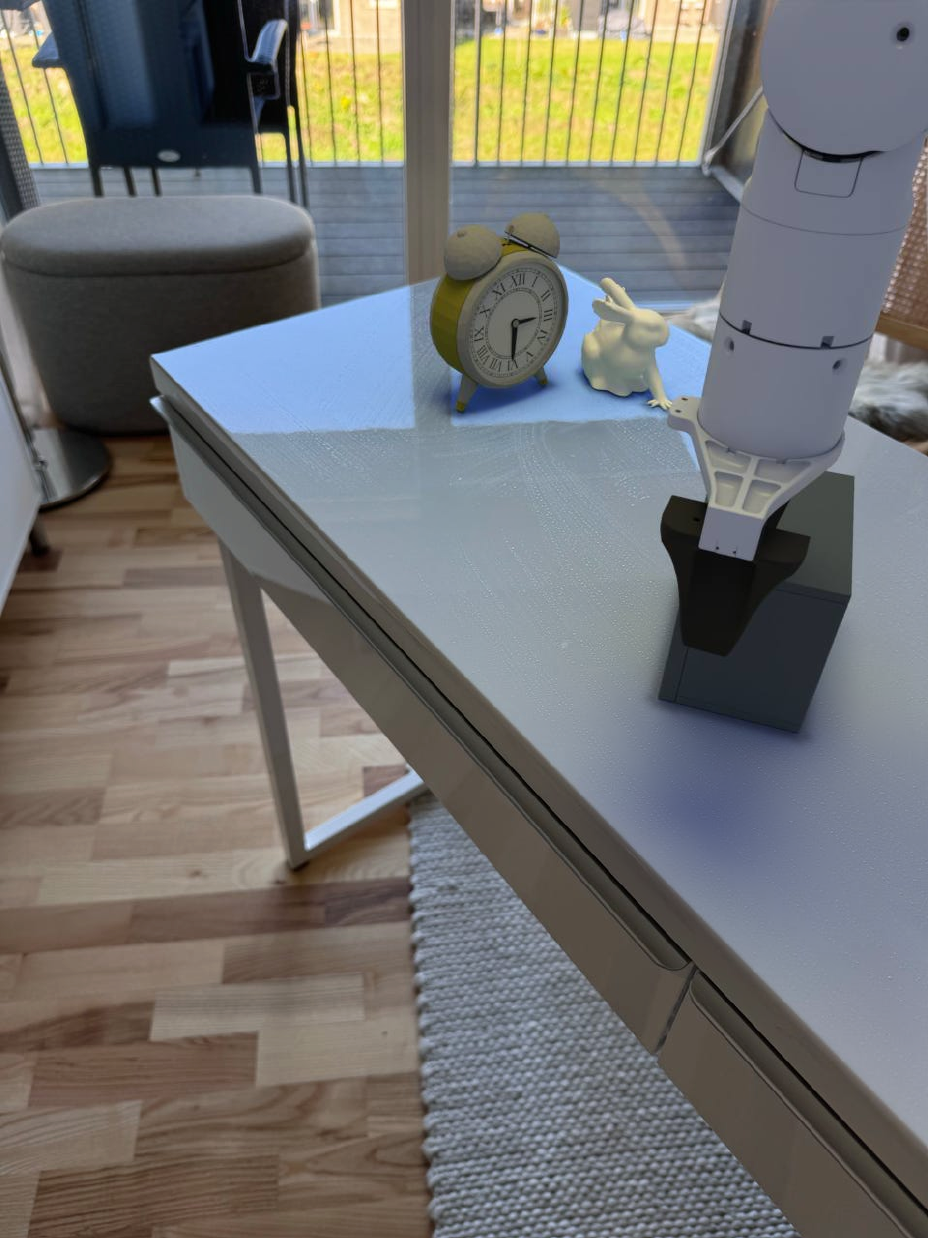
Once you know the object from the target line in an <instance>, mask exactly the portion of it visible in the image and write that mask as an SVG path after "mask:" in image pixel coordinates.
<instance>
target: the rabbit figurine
mask: <svg viewBox="0 0 928 1238" xmlns="http://www.w3.org/2000/svg"><path fill="white" fill-rule="evenodd" d="M599 288H600V289H601V291H603V293H605V294H606V295H605V297H603V298H593V301H592V302H591V307H592V310H593V313H594V314H595V315H596V316H597V317H599V320H598V321H597V324H596V325H595V327H594V329H592V330H591V331H590V332H589V333H585V334H584V335H583V338H582V343H581V347H580V362H581V365H582V368H583V371H584V375H585V376H586V378H587V379H588V381H589V384H590V386H591V388H593V389H595V390H601V391H602V390H603V391H609V392H610V393H612V394H614V395H616V396H620V397H627V396H629V395H631V394H632V392H636V393H637V392H638V393H642V392H646V391H648V390H649V391H650V393H651V396H652V397H653V399H652V400H648V402H646V405H651V406H650V407H653V408H654V407H656V406H660V407H661V408H662V410H664V411H669V409H670V407H671V405H672V403H673V402H672V401H670V400H669V399H668V397H667V396H666V392H665V389H664V384H663V380H662V376H661V373H660V371H659V366H658V364H657V359H656V349H657V348H661V347H664V346H666V344H668V341H669V338H670V335H671V330H670V326H669V323H667V321H666V319H665V318H664V317H663V316H662V315H661V314H660V313H659V312H657V311H656V310H653V309H649V308H640V307H638V306H637V305H635V303H634V302H633V301H632V299H631V298H630V297H629V296H628V294H627V292H626V288H625V287H624V286H622V287H621V285H619V284H616V282H615V281H614V280H613V279H612V278H610V277H605V278H602V279H601V281H600V282H599Z"/></svg>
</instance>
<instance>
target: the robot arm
mask: <svg viewBox="0 0 928 1238" xmlns="http://www.w3.org/2000/svg"><path fill="white" fill-rule="evenodd" d="M761 43H762V44H761V50H760V60H759V62H760V63H759V70H760V72H759V73H760V82H761V87H762V91H763V95H764V99H765V102H766V103H767V106H768V107H767V108H766V109H765V111H764V115H763V118H762V119H763V120H762V122H761V123H760V126H759V128H758V131H757V133H756V134H757V135H756V138H755V144H754V163H753V168H752V174H751V175H750V177H748V178H747V180H746V181H745V184H744V186H743V189H742V195H741V200H740V205H739V208H738V214H737V219H736V223H735V229H734V233H733V238H732V244H731V247H730V248H731V249H730V253H729V257H728V263H727V268H726V272H725V273H726V274H725V278H724V282H723V287H722V292H721V298H720V303H719V308H718V314H717V318H716V323H715V327H714V333H713V337H712V341H711V347H710V353H709V356H708V361H707V366H706V372H705V375H704V381H703V386H702V391H701V396H700V397H698V396H692V395H685V394H684V395H678V396H677V397H675V398H674V400H673V402H672V405H671V407H670V409H668V413H667V418H666V425H667V427H669V428H670V429H672V430H675V431H678V432H679V431H680V432H683V433H686V434H687V435H688V436H689V437H690V438H691V442H692V444H693V449H694V452H695V456H696V461H697V463H698V467H699V470H700V474H701V478H702V481H703V485H704V490H705V492H706V494H707V498H708V503H705V501H700V500H696V499H692V498H688V497H683V496H679V495H676V494H675V495H674V494H671V496H670V497H669V499H668V501H667V504H666V506H665V508H664V510H663V512H662V515H661V519H660V524H659V530H660V540H661V543H662V545H663V546H664V549H665V550H666V552H667V554H668V557H669V559H670V561H671V563H672V566H673V570H674V574H675V578H676V582H677V590H678V591H677V592H678V593H677V594H678V608H679V618H680V632H681V639H682V644H683V645H684V646H687V647H691V648H694V649H698V650H701V651H705V652H708V653H712V654H716V655H719V656H723V657H726V656H728V655H729V654H730V652H731V651H732V650H733V649H734V647H735V646H736V644H737V643H738V641H739V640H740V638H741V636H742V635H743V633H744V631H745V629H746V627H747V626H748V624H749V622H750V620H751V618H752V617H753V615H754V613H755V612H756V610H757V609H758V607H759V606H760V604H761V603H762V602H763V600H764V599H765V598H766V597H767V596H768V595H769V594H770V592H771V591H772V590H773V589H775V588H776V587H777V586H778V585H779V584H781V583H782V582H783V581H785V580H786V579H788V578H789V577H791V576H792V575H793V574H794V573H795V572H796V571H797V570H798V569H799V567H800V566H801V565H802V563H803V562H804V560H805V558H806V555H807V551H808V547H809V543H810V539H811V537H810V536H807V535H802V534H798V533H794V532H790V531H785V530H781V529H777V528H776V527H777V525H778V523H779V521H780V519H781V517H782V515H783V513H784V511H785V509H786V507H787V505H788V503H789V502H790V500H791V498H792V497H793V496H795V495H796V494H797V493H798V492H800V491H801V490H802V489H803V488H805V487H806V486H807V485H808V484H810V483H811V482H812V481H813V480H815V479H816V478H817V477H818V476H820V475H821V474H822V473H824V472H825V471H828V469H830V468H831V467H832V466H833V465H834V464H836V462H837V461H838V460H839V458H840V457H841V453H842V451H843V448H844V445H845V442H846V432H845V429H844V427H845V424H846V421H847V418H848V414H849V411H850V408H851V406H852V402H853V399H854V397H855V393H856V390H857V387H858V384H859V380H860V377H861V374H862V371H863V368H864V365H865V361H866V359H867V357H868V353H869V350H870V348H871V344H872V341H873V338H874V335H875V330H876V328H877V324H878V320H879V319H880V318H879V317H880V315H881V312H882V307H883V305H884V302H885V299H886V295H887V294H888V293H887V292H888V289H889V287H890V283H891V281H892V278H893V274H894V271H895V268H896V265H897V261H898V258H899V255H900V252H901V249H902V246H903V243H904V240H905V237H906V234H907V230H908V227H909V224H910V221H911V219H912V216H913V212H914V210H915V200H916V199H915V196H914V192H913V181H914V178H915V176H916V172H917V168H918V164H919V162H920V159H921V156H922V153H923V149H924V146H925V143H926V140H927V136H928V0H777V2H776V4H775V5H774V8H773V10H772V12H771V14H770V16H769V19H768V21H767V23H766V27H765V31H764V33H763V39H762V42H761Z"/></svg>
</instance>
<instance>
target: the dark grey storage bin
mask: <svg viewBox="0 0 928 1238" xmlns="http://www.w3.org/2000/svg"><path fill="white" fill-rule="evenodd" d="M855 479H856V477H855V475H851V474H846V473H841V472H834V471H829V470H826V471H825V472H824V473H822V474H821V475H820V476H818V477H817V478H816V479H815V480H813V481H812V482H811V483H810V484H808V485H807V486H806V487H805V488H803V489H802V490H801V491H800V492H798V493H797V494H796V495H795V496H793V497H792V498H791V500H790V502H789V503H788V505H787V507H786V509H785V511H784V513H783V515H782V517H781V519H780V521H779V523H778V525H777V527H776V528H777V529H781V530H785V531H790V532H794V533H798V534H802V535H807V536H810V537H811V539H810V543H809V547H808V551H807V555H806V558H805V560H804V562H803V563H802V565H801V566H800V567H799V569H798V570H797V571H796V572H795V573H794V574H793V575H792V576H791V577H789V578H788V579H786V580H785V581H783V582H782V583H781V584H779V585H778V586H777V587H776V588H775V589H773V590H772V591H771V592H770V594H769V595H768V596H767V597H766V598H765V599H764V600H763V602H762V603H761V604H760V606H759V607H758V609H757V610H756V612H755V613H754V615H753V617H752V618H751V620H750V622H749V624H748V626H747V627H746V629H745V631H744V633H743V635H742V636H741V638H740V640H739V641H738V643H737V644H736V646H735V647H734V649H733V650H732V651H731V652H730V654H729V655H728V656H726V657H723V656H719V655H716V654H712V653H708V652H705V651H701V650H698V649H694V648H691V647H687V646H684V645H683V644H682V639H681V632H680V618H679V607H678V609H677V613H676V616H675V621H674V625H673V630H672V634H671V639H670V643H669V648H668V652H667V656H666V662H665V665H664V669H663V674H662V677H661V678H662V679H661V682H660V687H659V691H658V696H657V697H658V699H659V700H663V701H667V702H672V703H676V704H680V705H683V706H688V707H692V708H696V709H699V710H704V711H708V712H712V713H716V714H720V715H724V716H728V717H732V718H736V719H741V720H743V721H749V722H753V723H757V724H761V725H764V726H769V727H773V728H776V729H780V730H784V731H789V732H793V733H797V734H799V733H800V731H801V730H802V729H801V728H802V727H803V724H804V720H805V718H806V716H807V713H808V710H809V708H810V705H811V703H812V700H813V698H814V695H815V692H816V690H817V688H818V684H819V682H820V679H821V676H822V675H823V671H824V668H825V666H826V665H827V664H826V663H827V661H828V658H829V656H830V654H831V650H832V648H833V646H834V642H835V640H836V637H837V635H838V633H839V629H840V627H841V624H842V623H843V622H842V621H843V619H844V617H845V614H846V611H847V609H848V606H849V604H850V601H851V598H852V595H853V594H852V593H853V591H852V590H853V559H854V558H853V556H854V555H853V554H854V552H853V551H854V519H855V517H854V516H855V512H854V510H855ZM704 502H705V503H708V498H707V493H706V494H705V499H704Z"/></svg>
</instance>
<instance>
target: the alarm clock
mask: <svg viewBox="0 0 928 1238" xmlns="http://www.w3.org/2000/svg"><path fill="white" fill-rule="evenodd" d="M504 234H507V238H506V237H499V235H498V234H497V233H496V232H495V231H493V230H492V229H490V228H489V227H487V226H485V225H481V224H475V223H471V224H468V225H463V226H461V227H460V228H458V229H457V230H456V231H454V232H453V233H452V234H451V235H450V236H449V238H448V239H447V241H446V243H445V245H444V249H443V265H444V270H443V272H442V273H441V275H440V277H439V279H438V281H437V283H436V287H435V289H434V290H433V294H432V298H431V301H430V302H431V303H430V308H429V330H430V331H429V333H430V336H431V340H432V343H433V344H432V345H433V346H434V347H435V350H436V351H437V354H438V355H439V356H440V357H441V358H442V360H443V361H444V362H445V363H446V364H447V365H448V366H449V367H451V368H452V369H454V370H455V371H457V372H458V373H460V374H462V375H461V380H460V385H459V390H458V395H457V399H456V403H455V410H457V411H459V412H461V413H462V412H464V410H465V409H466V407H467V406H468V403H470V400H471V399H472V397H473V396H474V394H475V392H476V390H477V389H478V388H479V386H482V387H484V388H489V389H492V390H505V389H509V388H513V387H516V386H518V385H520V384H523V383H525V382H527V381H528V380H530V379H532V377H533V378H534V379H535V380H536V381H537V382H538V383H539V385H540V386H542V387H545V386H546V385H548V383H549V380H548V377H547V374H546V370H545V365H546V364H547V363H549V360H550V359H551V357H552V356H553V354H554V353H555V351H556V350H557V348H558V346H559V344H560V341H561V340H562V337H563V335H564V332H565V329H566V325H567V322H568V321H567V320H568V316H569V301H570V299H569V298H570V297H569V290H568V286H567V281H566V280H565V277H564V274H563V272H562V270H561V269H560V268H559V266H558V265H557V264H556V263H555V262H554V261H553V260H552V259H551V258H553V259H558V256H559V253H560V250H561V239H560V234H559V231H558V229H557V228H556V226H555V224H554V222H553V221H552V220H551V219H549V214H548V213H547V212H546V211H542V212H539V213H538V212H537V213H536V212H525V213H522V214H520V215H519V214H518V215H517V216H515V217H514V218H513V219H511V220H510V221H509V223H507V225H506V227H505V229H504ZM511 237H512V238H511ZM516 240H517V241H516ZM518 241H519V242H518ZM550 257H551V258H550Z"/></svg>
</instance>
